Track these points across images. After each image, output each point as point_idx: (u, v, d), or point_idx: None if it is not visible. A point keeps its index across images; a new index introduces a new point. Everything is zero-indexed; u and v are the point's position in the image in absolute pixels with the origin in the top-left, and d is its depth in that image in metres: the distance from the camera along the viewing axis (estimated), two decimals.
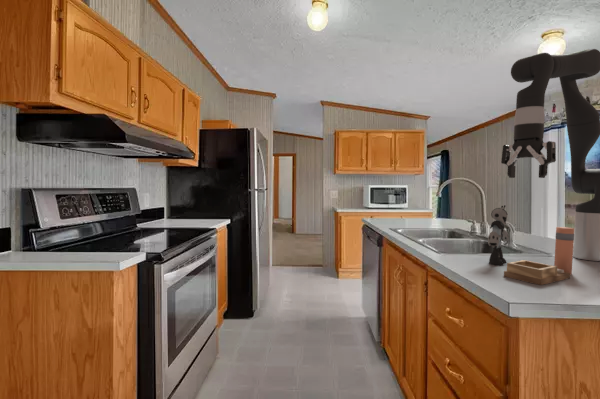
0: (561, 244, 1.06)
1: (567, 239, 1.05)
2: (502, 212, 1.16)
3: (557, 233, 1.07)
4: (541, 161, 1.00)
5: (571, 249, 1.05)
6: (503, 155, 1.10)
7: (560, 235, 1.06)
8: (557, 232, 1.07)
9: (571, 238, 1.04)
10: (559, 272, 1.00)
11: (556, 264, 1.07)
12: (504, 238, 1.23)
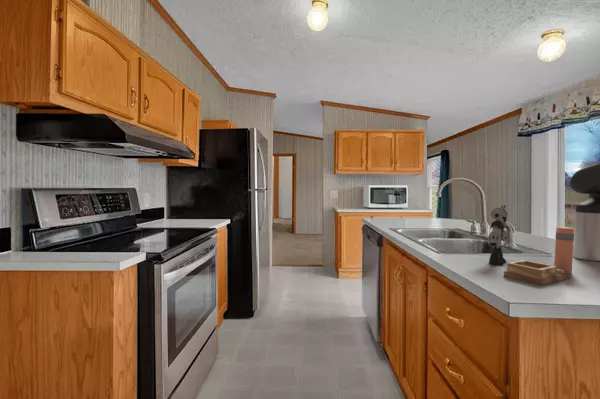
0: (561, 244, 1.06)
1: (567, 239, 1.05)
2: (502, 212, 1.16)
3: (557, 233, 1.07)
4: None
5: (571, 249, 1.05)
6: None
7: (560, 235, 1.06)
8: (557, 232, 1.07)
9: (571, 238, 1.04)
10: (559, 272, 1.00)
11: (556, 264, 1.07)
12: (504, 238, 1.23)
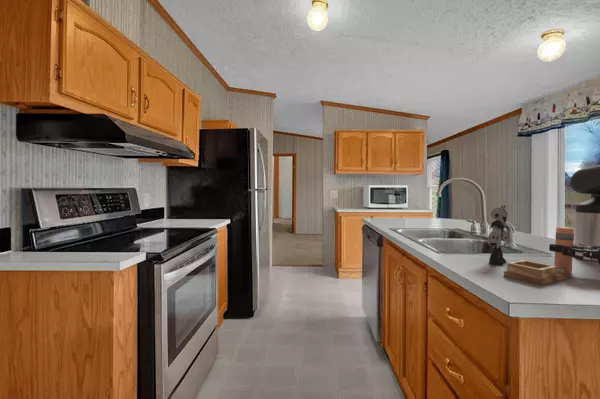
0: (560, 244, 1.06)
1: (567, 239, 1.05)
2: (502, 212, 1.16)
3: (557, 233, 1.07)
4: None
5: None
6: None
7: (560, 235, 1.06)
8: (557, 232, 1.07)
9: (571, 238, 1.04)
10: (559, 272, 1.00)
11: (556, 264, 1.07)
12: (504, 238, 1.23)
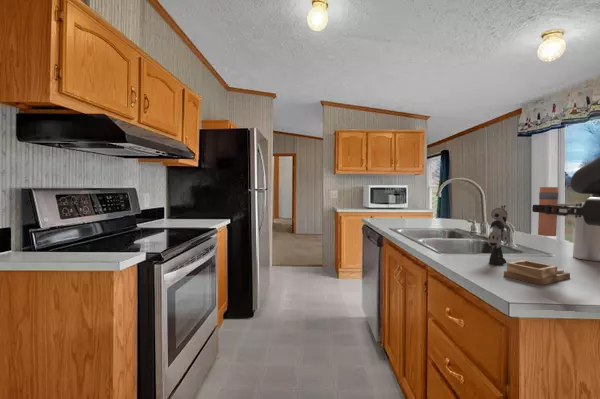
0: (544, 204, 0.99)
1: (551, 198, 0.99)
2: (502, 212, 1.16)
3: (540, 193, 1.01)
4: None
5: None
6: None
7: (543, 195, 1.00)
8: (540, 192, 1.01)
9: (555, 197, 0.98)
10: (559, 272, 1.00)
11: (540, 226, 1.01)
12: (504, 238, 1.23)
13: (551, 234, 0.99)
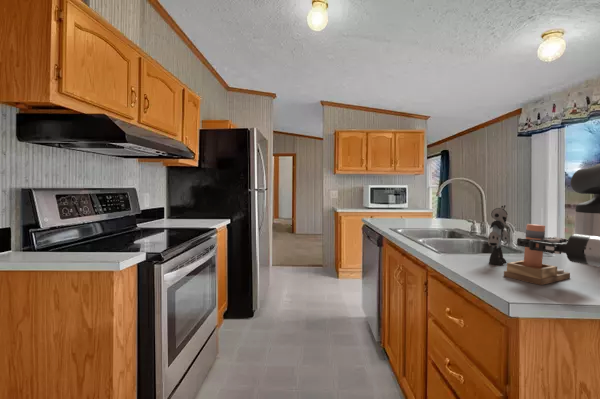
0: None
1: (537, 237, 0.97)
2: (502, 212, 1.16)
3: (527, 230, 1.00)
4: None
5: None
6: (539, 250, 0.92)
7: (530, 233, 0.99)
8: (527, 229, 1.00)
9: (541, 236, 0.97)
10: (559, 272, 1.00)
11: (525, 264, 1.00)
12: (504, 238, 1.23)
13: None
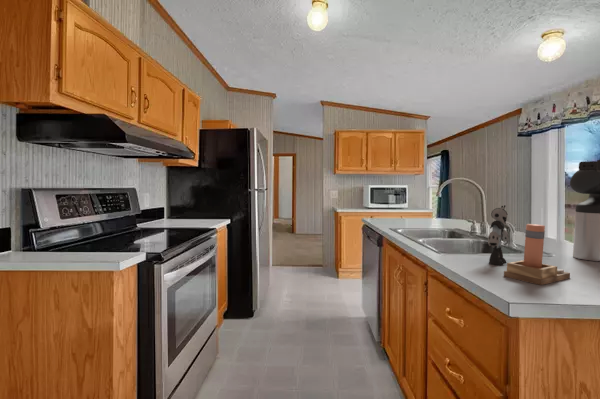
0: (530, 243, 0.98)
1: (537, 237, 0.97)
2: (502, 212, 1.16)
3: (527, 231, 0.99)
4: None
5: (541, 248, 0.97)
6: None
7: (529, 233, 0.98)
8: (527, 230, 0.99)
9: (541, 236, 0.97)
10: (559, 272, 1.00)
11: (525, 264, 1.00)
12: (504, 238, 1.23)
13: None
